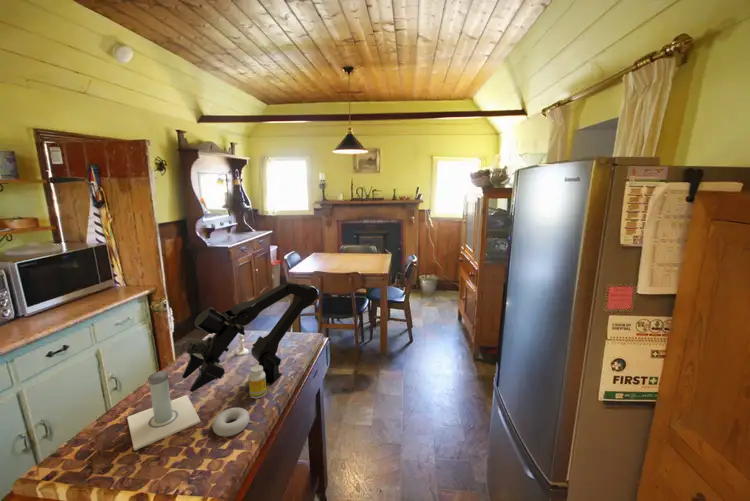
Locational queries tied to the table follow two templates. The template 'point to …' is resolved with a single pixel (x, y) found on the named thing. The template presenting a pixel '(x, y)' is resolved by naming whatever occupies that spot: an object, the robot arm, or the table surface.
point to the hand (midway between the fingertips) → (187, 384)
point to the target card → (150, 432)
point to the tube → (160, 397)
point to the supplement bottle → (257, 382)
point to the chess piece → (242, 347)
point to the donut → (232, 428)
